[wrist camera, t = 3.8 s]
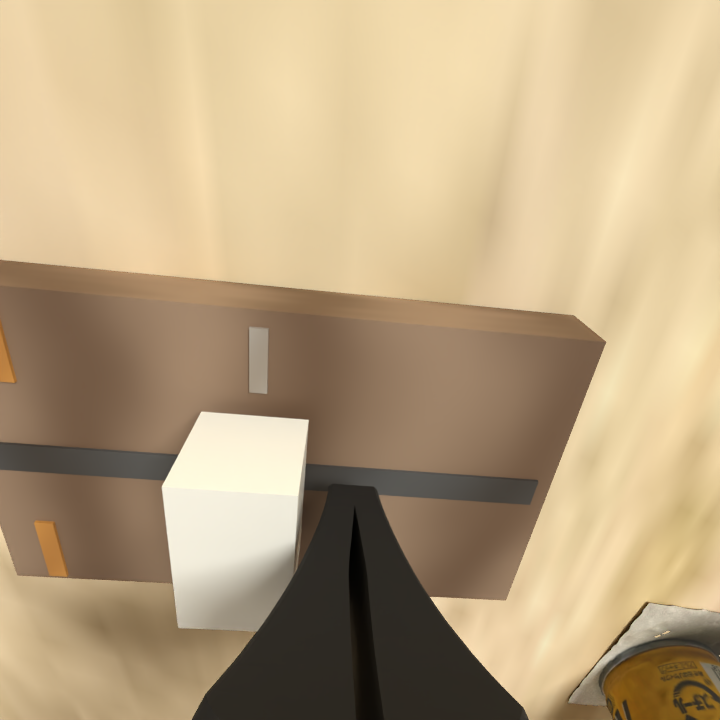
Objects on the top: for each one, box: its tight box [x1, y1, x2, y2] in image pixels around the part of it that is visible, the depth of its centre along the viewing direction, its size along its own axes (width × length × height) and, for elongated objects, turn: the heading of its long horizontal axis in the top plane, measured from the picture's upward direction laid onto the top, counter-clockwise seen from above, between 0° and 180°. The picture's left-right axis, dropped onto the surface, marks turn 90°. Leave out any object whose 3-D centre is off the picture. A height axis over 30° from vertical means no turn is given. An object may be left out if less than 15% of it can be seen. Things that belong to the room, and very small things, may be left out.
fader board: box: [0, 260, 606, 600], centre depth 15 cm, size 18×11×2 cm, turn 84°
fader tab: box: [162, 412, 309, 632], centre depth 13 cm, size 3×5×3 cm, turn 174°
